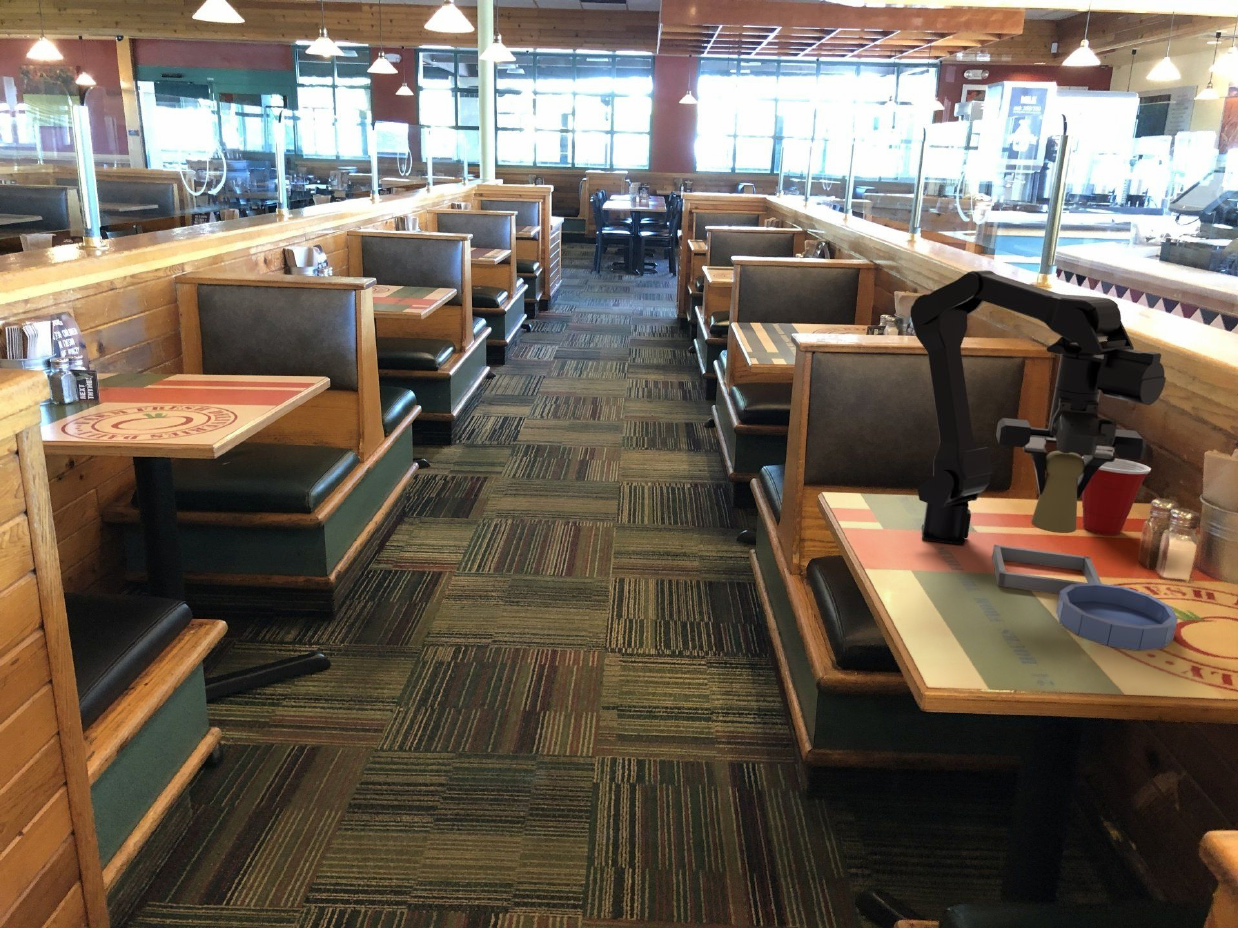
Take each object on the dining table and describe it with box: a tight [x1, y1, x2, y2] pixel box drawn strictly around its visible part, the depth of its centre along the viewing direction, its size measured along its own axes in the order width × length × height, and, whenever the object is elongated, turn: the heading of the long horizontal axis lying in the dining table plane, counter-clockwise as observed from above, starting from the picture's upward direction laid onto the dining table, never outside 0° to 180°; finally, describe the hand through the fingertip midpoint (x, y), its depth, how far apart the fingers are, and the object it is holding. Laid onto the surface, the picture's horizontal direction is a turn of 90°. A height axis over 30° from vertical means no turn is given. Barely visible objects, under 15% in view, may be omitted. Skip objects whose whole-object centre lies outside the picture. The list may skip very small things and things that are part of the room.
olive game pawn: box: [1030, 450, 1085, 534], centre depth 140 cm, size 6×6×11 cm
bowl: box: [1055, 582, 1179, 652], centre depth 129 cm, size 14×14×3 cm
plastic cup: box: [1081, 456, 1152, 536], centre depth 163 cm, size 11×11×12 cm
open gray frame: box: [991, 544, 1103, 595], centre depth 144 cm, size 14×12×2 cm
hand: (1058, 495), depth 140 cm, fingers closed on olive game pawn, 4 cm apart
